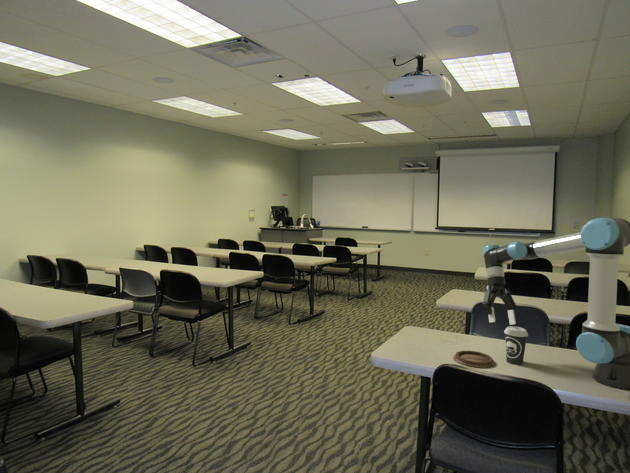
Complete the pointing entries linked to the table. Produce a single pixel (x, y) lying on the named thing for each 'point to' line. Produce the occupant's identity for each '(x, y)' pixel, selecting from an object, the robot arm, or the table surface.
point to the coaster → (474, 359)
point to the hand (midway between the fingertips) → (502, 323)
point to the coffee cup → (515, 344)
